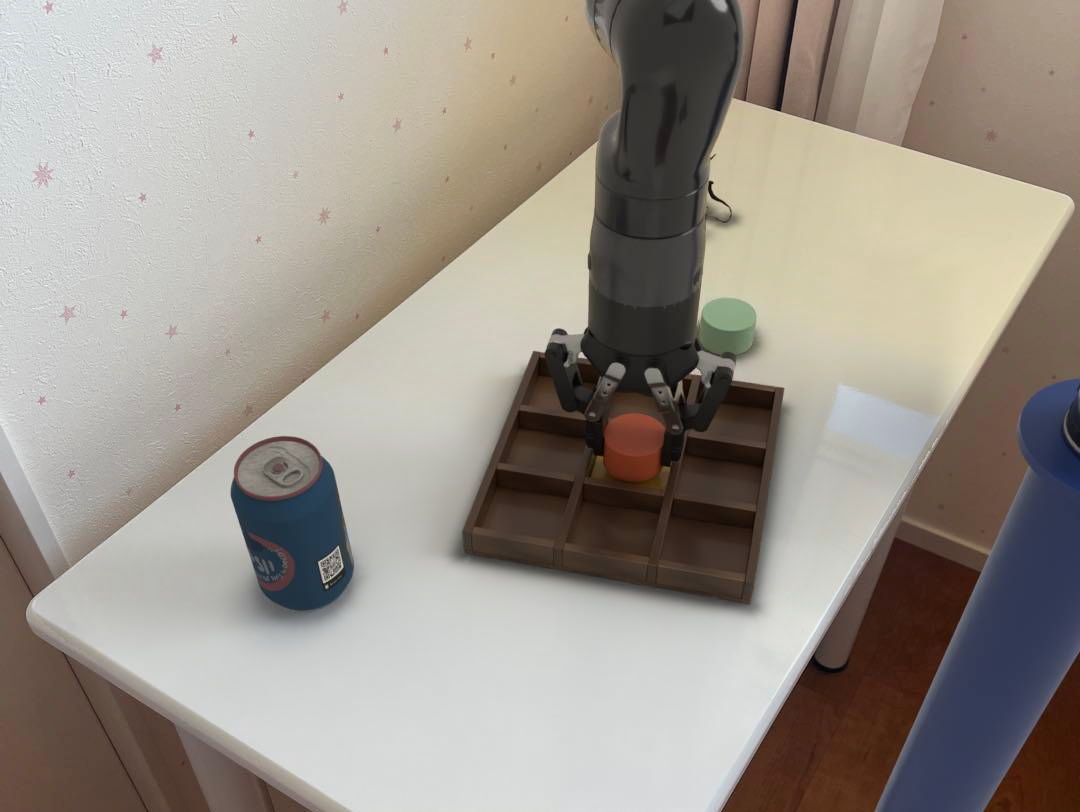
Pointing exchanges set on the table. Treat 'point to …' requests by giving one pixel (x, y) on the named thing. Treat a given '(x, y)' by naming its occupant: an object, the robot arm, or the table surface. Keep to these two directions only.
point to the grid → (630, 492)
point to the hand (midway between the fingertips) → (633, 453)
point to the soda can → (292, 522)
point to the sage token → (727, 326)
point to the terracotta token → (633, 447)
